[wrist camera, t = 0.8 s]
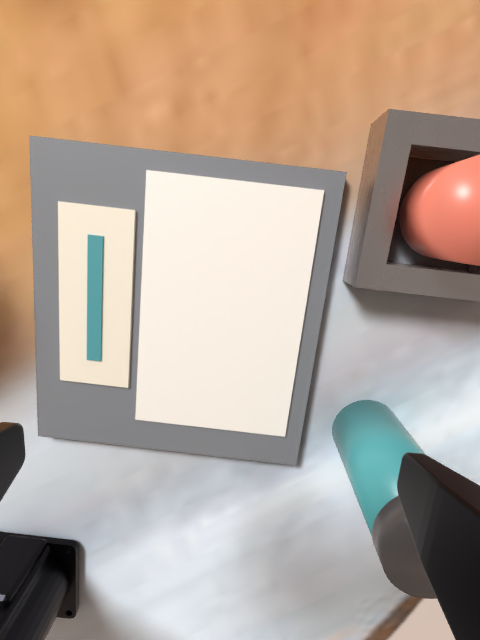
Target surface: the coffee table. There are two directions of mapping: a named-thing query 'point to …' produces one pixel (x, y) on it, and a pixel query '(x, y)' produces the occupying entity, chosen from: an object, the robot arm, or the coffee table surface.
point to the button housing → (384, 195)
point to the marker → (381, 487)
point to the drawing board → (177, 297)
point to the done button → (445, 213)
